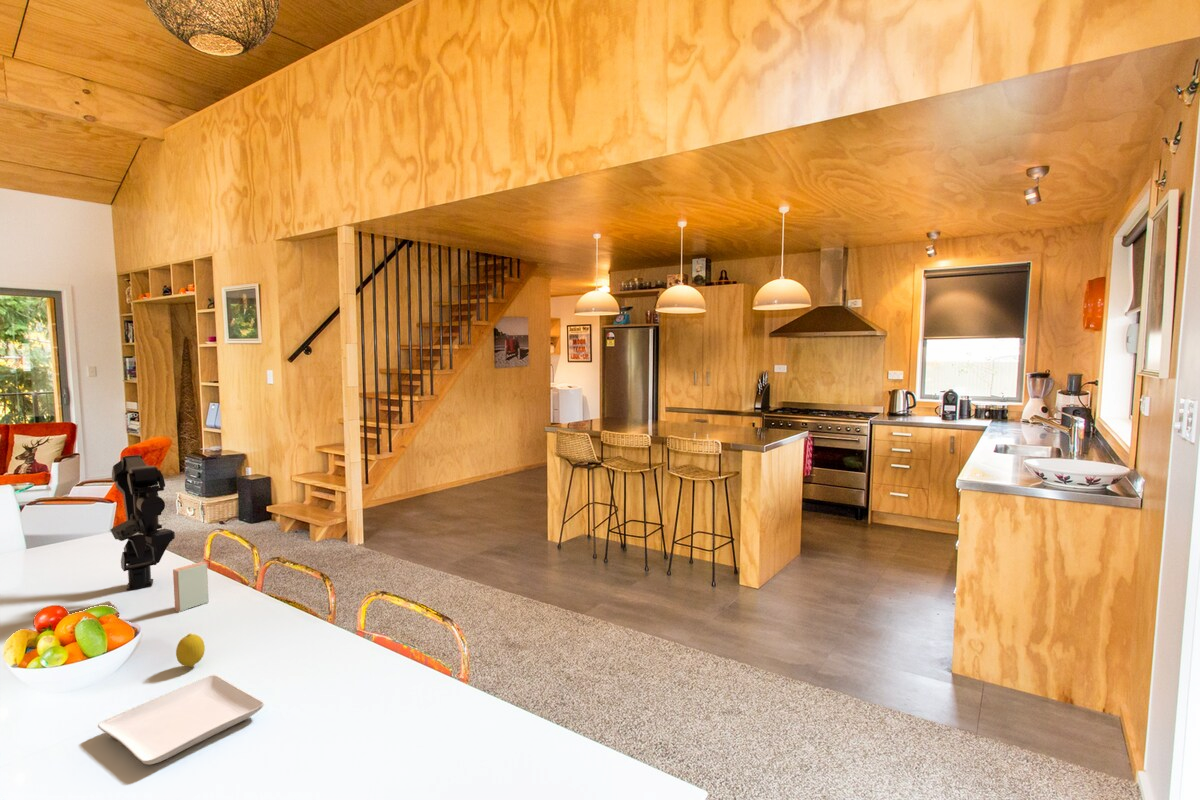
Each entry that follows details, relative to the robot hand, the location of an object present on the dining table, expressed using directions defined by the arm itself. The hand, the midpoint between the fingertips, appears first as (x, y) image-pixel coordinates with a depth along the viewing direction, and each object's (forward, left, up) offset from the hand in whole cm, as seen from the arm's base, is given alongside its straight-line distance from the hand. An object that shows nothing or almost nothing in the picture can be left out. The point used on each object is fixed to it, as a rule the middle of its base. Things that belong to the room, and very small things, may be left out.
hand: (148, 560), depth 182 cm
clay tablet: (+5, -13, -13) cm, 19 cm away
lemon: (+56, +11, -12) cm, 58 cm away
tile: (+14, +11, -12) cm, 21 cm away
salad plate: (+83, +10, -13) cm, 84 cm away
